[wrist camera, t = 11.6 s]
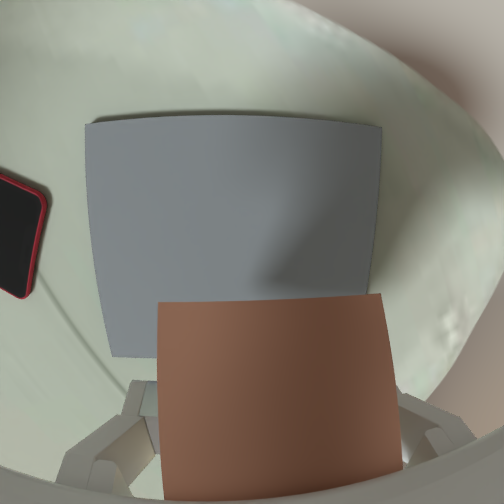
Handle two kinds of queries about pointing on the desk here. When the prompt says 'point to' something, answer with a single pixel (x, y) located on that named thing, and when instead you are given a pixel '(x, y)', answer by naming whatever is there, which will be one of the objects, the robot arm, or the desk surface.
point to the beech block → (274, 397)
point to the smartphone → (19, 234)
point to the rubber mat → (226, 213)
